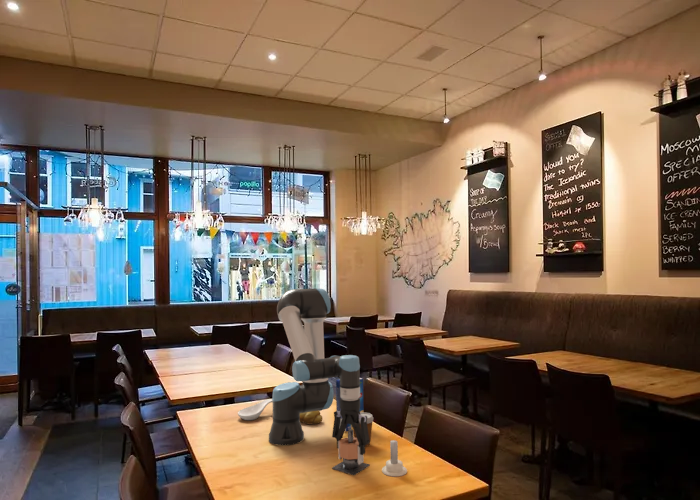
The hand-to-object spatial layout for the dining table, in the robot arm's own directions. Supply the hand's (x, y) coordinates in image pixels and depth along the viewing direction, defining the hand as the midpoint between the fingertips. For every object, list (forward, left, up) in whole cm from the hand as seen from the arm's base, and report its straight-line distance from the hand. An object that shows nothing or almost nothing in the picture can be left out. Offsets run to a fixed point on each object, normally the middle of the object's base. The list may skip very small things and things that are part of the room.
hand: (350, 460), depth 173 cm
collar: (0, 0, +2) cm, 2 cm away
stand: (0, 0, -3) cm, 3 cm away
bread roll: (-46, +31, -3) cm, 56 cm away
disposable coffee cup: (-9, +21, -3) cm, 23 cm away
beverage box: (-26, +36, -3) cm, 44 cm away
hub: (+15, +6, -3) cm, 16 cm away
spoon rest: (-74, +25, -3) cm, 78 cm away
